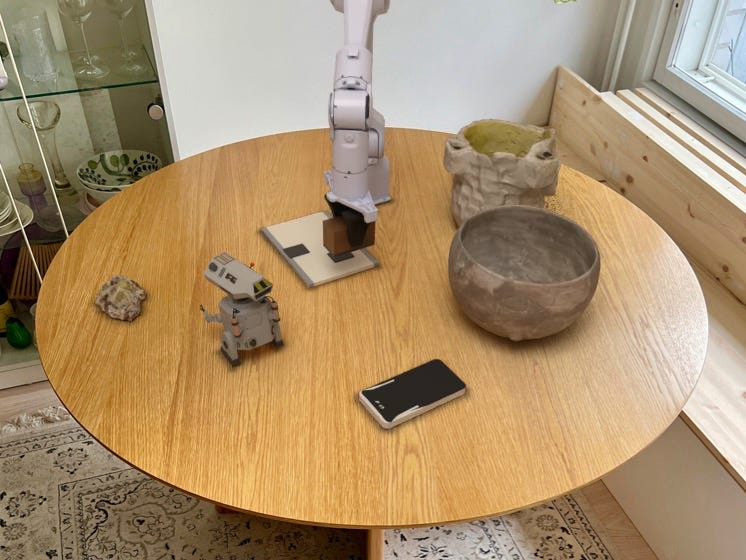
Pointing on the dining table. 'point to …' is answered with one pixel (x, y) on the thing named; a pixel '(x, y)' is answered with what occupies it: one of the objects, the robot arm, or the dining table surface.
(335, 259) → the charcoal rectangular plate
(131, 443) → the dining table surface
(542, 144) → the ceramic vessel
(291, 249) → the dark grey tile
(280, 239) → the whiteboard
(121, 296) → the mineral rock
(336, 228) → the brown rectangular block
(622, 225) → the dining table surface
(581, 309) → the bowl
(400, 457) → the dining table surface
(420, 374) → the smartphone
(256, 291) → the figurine
